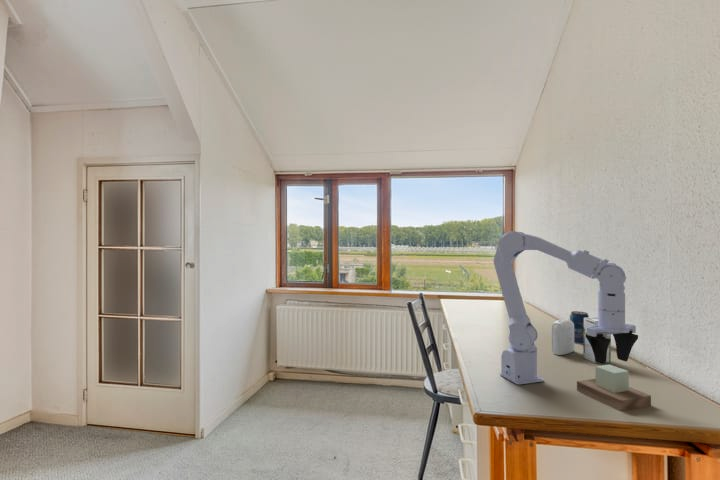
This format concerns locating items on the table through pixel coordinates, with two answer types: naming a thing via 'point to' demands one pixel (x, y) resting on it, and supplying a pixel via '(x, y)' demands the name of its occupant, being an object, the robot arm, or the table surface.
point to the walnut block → (615, 396)
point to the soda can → (578, 325)
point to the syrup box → (587, 347)
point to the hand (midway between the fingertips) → (611, 361)
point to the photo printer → (563, 337)
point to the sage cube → (612, 378)
